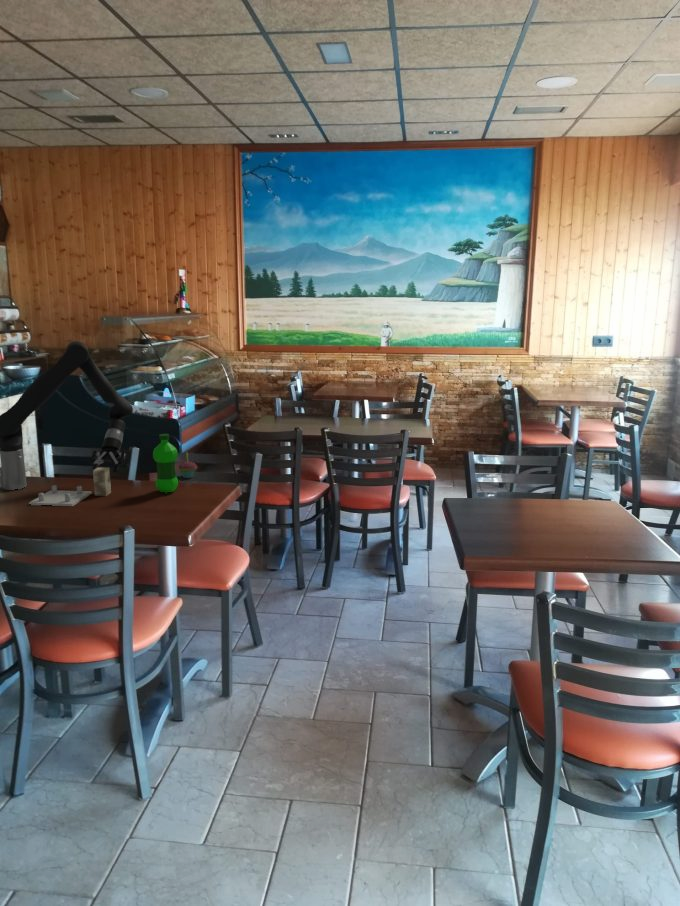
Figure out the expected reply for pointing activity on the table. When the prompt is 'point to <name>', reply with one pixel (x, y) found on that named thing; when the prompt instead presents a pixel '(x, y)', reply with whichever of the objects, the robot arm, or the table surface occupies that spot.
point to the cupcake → (187, 468)
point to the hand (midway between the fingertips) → (104, 472)
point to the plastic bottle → (165, 465)
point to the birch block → (101, 481)
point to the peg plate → (60, 497)
